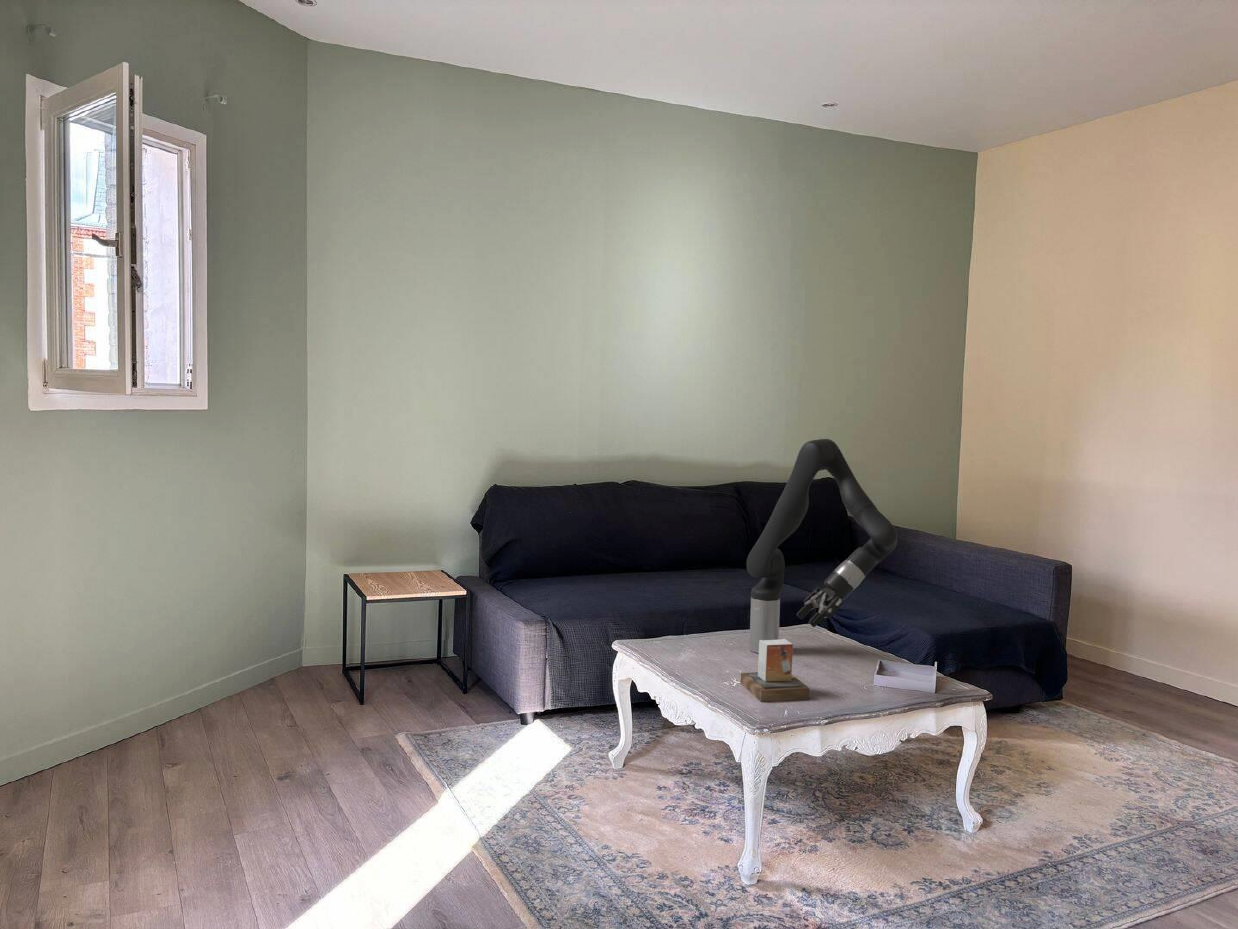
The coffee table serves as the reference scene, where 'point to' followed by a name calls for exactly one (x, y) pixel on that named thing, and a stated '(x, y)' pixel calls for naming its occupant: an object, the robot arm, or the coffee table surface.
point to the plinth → (774, 688)
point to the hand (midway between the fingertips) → (804, 621)
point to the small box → (775, 660)
